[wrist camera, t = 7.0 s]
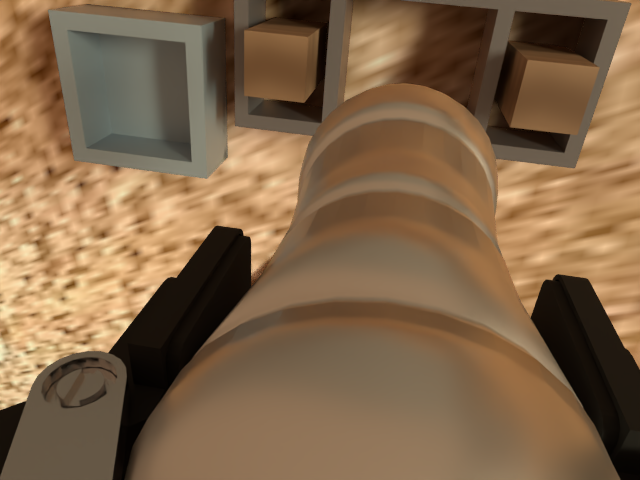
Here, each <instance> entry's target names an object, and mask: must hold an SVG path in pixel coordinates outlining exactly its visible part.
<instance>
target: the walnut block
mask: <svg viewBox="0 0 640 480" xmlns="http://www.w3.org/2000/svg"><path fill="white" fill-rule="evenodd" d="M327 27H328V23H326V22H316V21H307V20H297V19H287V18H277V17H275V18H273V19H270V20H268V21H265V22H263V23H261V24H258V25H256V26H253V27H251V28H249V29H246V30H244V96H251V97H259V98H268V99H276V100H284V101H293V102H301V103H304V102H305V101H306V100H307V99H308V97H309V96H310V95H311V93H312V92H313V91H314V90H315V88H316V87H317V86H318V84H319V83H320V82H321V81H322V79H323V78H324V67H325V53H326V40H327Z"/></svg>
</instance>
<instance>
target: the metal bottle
mask: <svg viewBox="0 0 640 480" xmlns="http://www.w3.org/2000/svg"><path fill="white" fill-rule="evenodd" d="M497 196H498V175H497V166H496V157H495V154H494V151H493V148H492V145H491V142H490V139H489V137H488V135H487V134H486V132H485V131H484V129H483V127H482V126H481V124H480V122H479V121H478V120H477V119H476V118H475V117H474V116H473V115H472V114H471V113H470V112H469V111H468V110H467V109H466V108H465V107H464V106H463V105H461V104H460V103H458V102H457V101H455V100H454V99H452V98H451V97H449V96H448V95H446V94H444V93H442V92H439V91H437V90H434V89H432V88H429V87H426V86H422V85H416V84H409V83H400V84H387V85H383V86H379V87H376V88H372V89H369V90H367V91H365V92H362V93H360V94H358V95H356V96H354V97H352V98H350V99H348V100H346V101H345V102H344V103H343V104H341V105H340V106H339V107H337V108H336V109H335V110H334V111H332V112H331V113H330V114H329V115H328V116H327V118H326V119H325V120H324V121H323V122H322V123H321V125H320V126H319V127H318V128H317V130H316V132H315V134H314V135H313V137H312V139H311V141H310V142H309V144H308V147H307V150H306V154H305V157H304V160H303V163H302V168H301V173H300V178H299V187H298V202H297V205H296V209H295V212H294V215H293V219H292V222H291V225H290V228H289V230H288V232H287V233H286V235H285V237H284V238H283V240H282V242H281V243H280V245H279V247H278V248H277V250H276V252H275V253H274V255H273V257H272V258H271V260H270V262H269V263H268V265H267V267H266V268H265V270H264V271H263V273H262V275H261V276H260V277H259V278H258V279H257V281H256V282H255V283H254V284H253V285H252V287H251V288H250V289H249V290H248V291H247V293H246V294H245V295H244V296H243V297H242V299H241V300H240V301H239V302H238V303H237V305H236V306H235V307H234V308H233V309H232V311H231V312H230V313H229V314H228V315H227V317H226V318H225V319H224V320H223V321H222V323H221V324H220V325H219V326H218V327H217V329H216V330H215V331H214V332H213V333H212V335H211V336H210V337H209V338H208V339H207V341H206V342H205V343H204V344H203V345H202V347H201V348H200V349H199V350H198V351H197V353H196V354H195V355H194V357H193V358H192V360H191V361H190V362H189V363H188V364H187V365H186V366H185V367H184V368H183V369H182V370H181V371H180V373H179V374H178V376H177V377H176V379H175V380H174V382H173V383H172V385H171V386H170V388H169V389H168V391H167V392H166V394H165V395H164V396H163V398H162V399H161V401H160V402H159V403H158V405H157V406H156V408H155V409H154V410H153V412H152V413H151V415H150V416H149V417H148V419H147V421H146V423H145V424H144V426H143V428H142V430H141V432H140V434H139V435H138V437H137V439H136V441H135V443H134V444H133V446H132V450H131V454H130V458H129V462H128V466H127V470H126V474H125V478H124V480H620V478H619V476H618V474H617V472H616V470H615V468H614V466H613V464H612V462H611V460H610V457H609V455H608V453H607V451H606V449H605V447H604V444H603V442H602V440H601V438H600V436H599V434H598V431H597V429H596V427H595V425H594V424H593V422H592V421H591V419H590V418H589V416H588V415H587V413H586V412H585V410H584V409H583V406H582V404H581V403H580V401H579V399H578V398H577V396H576V394H575V392H574V391H573V389H572V387H571V386H570V384H569V382H568V381H567V379H566V377H565V376H564V374H563V372H562V370H561V369H560V367H559V365H558V364H557V362H556V360H555V359H554V357H553V355H552V354H551V352H550V350H549V348H548V347H547V345H546V343H545V342H544V340H543V338H542V337H541V335H540V333H539V332H538V330H537V328H536V327H535V325H534V323H533V321H532V320H531V318H530V316H529V315H528V313H527V311H526V310H525V308H524V306H523V305H522V303H521V301H520V299H519V296H518V294H517V291H516V289H515V286H514V284H513V281H512V279H511V276H510V273H509V271H508V268H507V266H506V263H505V261H504V259H503V257H502V254H501V251H500V248H499V246H498V242H497V233H496V224H495V213H496V206H497Z"/></svg>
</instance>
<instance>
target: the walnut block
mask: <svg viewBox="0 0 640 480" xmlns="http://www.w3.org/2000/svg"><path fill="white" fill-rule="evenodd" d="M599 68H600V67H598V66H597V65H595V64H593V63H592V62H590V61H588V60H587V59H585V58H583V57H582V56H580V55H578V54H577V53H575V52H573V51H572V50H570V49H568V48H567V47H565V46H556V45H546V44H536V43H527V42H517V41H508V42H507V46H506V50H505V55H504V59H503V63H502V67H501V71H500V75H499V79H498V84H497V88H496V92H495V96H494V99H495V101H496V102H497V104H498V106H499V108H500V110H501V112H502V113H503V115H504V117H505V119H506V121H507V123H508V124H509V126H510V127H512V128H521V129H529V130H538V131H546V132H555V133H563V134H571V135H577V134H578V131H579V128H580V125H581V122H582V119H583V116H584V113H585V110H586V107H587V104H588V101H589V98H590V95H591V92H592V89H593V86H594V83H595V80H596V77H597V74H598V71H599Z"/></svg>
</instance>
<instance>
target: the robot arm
mask: <svg viewBox="0 0 640 480" xmlns="http://www.w3.org/2000/svg"><path fill="white" fill-rule="evenodd" d="M250 288H251V239H250V237H247V236H243V231H242V230H241V229H237V228H230V227H223V226H215V227H214V228H213V230H212V231H211V232H210V234H209V235H208V236H207V238H206V239H205V240H204V242H203V243H202V244H201V246H200V247H199V248H198V250H197V251H196V252H195V254H194V255H193V256H192V258H191V259H190V260H189V262H188V263H187V264H186V266H185V267H184V268H183V270H182V271H181V272H180V274H179V275H178V276H177V278H174V277H170V278H167V279H166V280H165V281H164V282H163V283H162V285H161V286H160V287H159V289H158V290H157V291H156V292H155V294H154V295H153V296H152V298H151V299H150V300H149V301H148V303H147V304H146V305H145V306H144V308H143V309H142V310H141V312H140V313H139V314H138V315H137V317H136V318H135V319H134V321H133V322H132V323H131V324H130V326H129V327H128V328H127V330H126V331H125V332H124V333H123V335H122V336H121V337H120V339H119V340H118V341H117V342H116V344H115V345H114V346H113V347H112V349H111V350H110V351H109V353H105V352H101V351H86V352H81V353H76V354H72V355H69V356H67V357H64V358H61V359H59V360H57V361H56V362H54V363H53V364H51V365H49V366H48V367H46V368H45V369H44V370H43V371H42V372H41V373H40V374H39V375H38V376H37V378H36V380H35V381H34V383H33V385H32V387H31V390H30V393H29V396H28V398H27V401H25V402H22V403H19V404H16V405H14V406H11V407H8V408H5V409H3V410H0V480H124V478H125V474H126V470H127V466H128V462H129V458H130V454H131V450H132V446H133V444H134V443H135V441H136V439H137V437H138V435H139V434H140V432H141V430H142V428H143V426H144V424H145V423H146V421H147V419H148V417H149V416H150V415H151V413H152V412H153V410H154V409H155V408H156V406H157V405H158V403H159V402H160V401H161V399H162V398H163V396H164V395H165V394H166V392H167V391H168V389H169V388H170V386H171V385H172V383H173V382H174V380H175V379H176V377H177V376H178V374H179V373H180V371H181V370H182V369H183V368H184V367H185V366H186V365H187V364H188V363H189V362H190V361H191V360H192V358H193V357H194V355H195V354H196V353H197V351H198V350H199V349H200V348H201V347H202V345H203V344H204V343H205V342H206V341H207V339H208V338H209V337H210V336H211V335H212V333H213V332H214V331H215V330H216V329H217V327H218V326H219V325H220V324H221V323H222V321H223V320H224V319H225V318H226V317H227V315H228V314H229V313H230V312H231V311H232V309H233V308H234V307H235V306H236V305H237V303H238V302H239V301H240V300H241V299H242V297H243V296H244V295H245V294H246V293H247V291H248V290H249V289H250ZM531 320H532V321H533V323H534V325H535V327H536V328H537V330H538V332H539V333H540V335H541V337H542V338H543V340H544V342H545V343H546V345H547V347H548V348H549V350H550V352H551V354H552V355H553V357H554V359H555V360H556V362H557V364H558V365H559V367H560V369H561V370H562V372H563V374H564V376H565V377H566V379H567V381H568V382H569V384H570V386H571V387H572V389H573V391H574V392H575V394H576V396H577V398H578V399H579V401H580V403H581V404H582V406H583V409H584V410H585V412H586V413H587V415H588V416H589V418H590V419H591V421H592V422H593V424H594V425H595V427H596V429H597V431H598V434H599V436H600V438H601V440H602V442H603V444H604V447H605V449H606V451H607V453H608V455H609V457H610V460H611V462H612V464H613V466H614V468H615V470H616V472H617V474H618V476H619V478H620V480H640V369H639V368H638V366H637V364H636V362H635V360H634V358H633V356H632V355H631V354H630V352H629V351H628V350H627V349H625V348H624V346H623V344H622V342H621V340H620V338H619V336H618V335H617V333H616V331H615V329H614V327H613V325H612V323H611V321H610V319H609V317H608V316H607V314H606V312H605V310H604V308H603V306H602V304H601V302H600V300H599V299H598V297H597V295H596V293H595V291H594V289H593V287H592V285H591V283H590V282H589V280H588V279H586V278H580V277H573V276H566V275H559V274H557V275H556V276H555V277H554V278H553V280H545V281H544V282H543V284H542V287H541V290H540V293H539V296H538V298H537V301H536V304H535V307H534V310H533V313H532V316H531Z"/></svg>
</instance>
